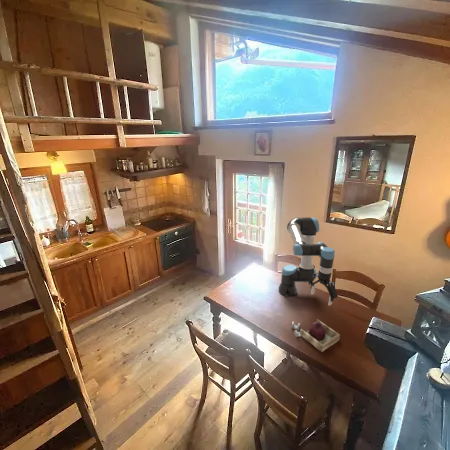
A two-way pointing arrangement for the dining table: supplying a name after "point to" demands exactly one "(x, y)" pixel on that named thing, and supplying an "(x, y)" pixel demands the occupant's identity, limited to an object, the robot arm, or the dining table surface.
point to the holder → (328, 341)
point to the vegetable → (317, 331)
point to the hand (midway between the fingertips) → (320, 299)
